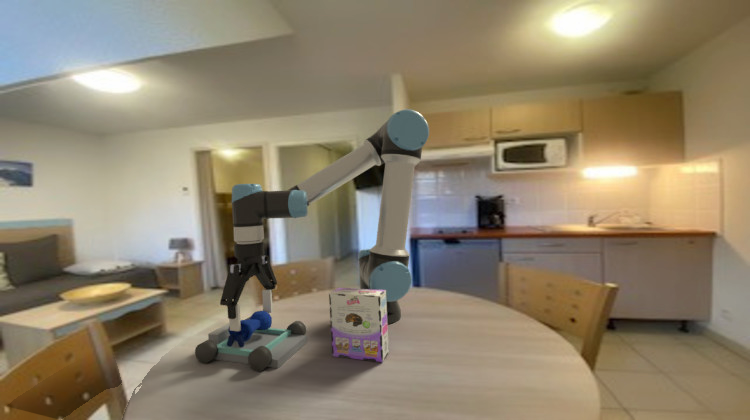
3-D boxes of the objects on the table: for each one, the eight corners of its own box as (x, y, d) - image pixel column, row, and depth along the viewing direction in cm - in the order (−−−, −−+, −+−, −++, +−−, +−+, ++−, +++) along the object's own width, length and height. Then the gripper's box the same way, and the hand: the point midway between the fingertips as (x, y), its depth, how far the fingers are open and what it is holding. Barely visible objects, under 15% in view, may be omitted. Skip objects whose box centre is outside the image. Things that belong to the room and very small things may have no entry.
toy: (247, 350, 79) (277, 324, 94) (246, 325, 79) (276, 303, 94) (223, 348, 81) (256, 323, 95) (221, 324, 80) (254, 302, 95)
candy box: (389, 352, 84) (387, 289, 83) (382, 363, 78) (380, 295, 77) (340, 346, 88) (338, 286, 87) (331, 356, 82) (328, 292, 82)
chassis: (311, 339, 93) (310, 321, 93) (271, 373, 75) (270, 352, 75) (241, 331, 100) (241, 315, 100) (190, 361, 83) (189, 342, 82)
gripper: (265, 236, 100) (268, 304, 100) (200, 248, 76) (205, 338, 77) (287, 236, 97) (290, 306, 98) (226, 249, 74) (231, 341, 75)
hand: (252, 320), depth 88 cm, fingers closed on toy, 13 cm apart
